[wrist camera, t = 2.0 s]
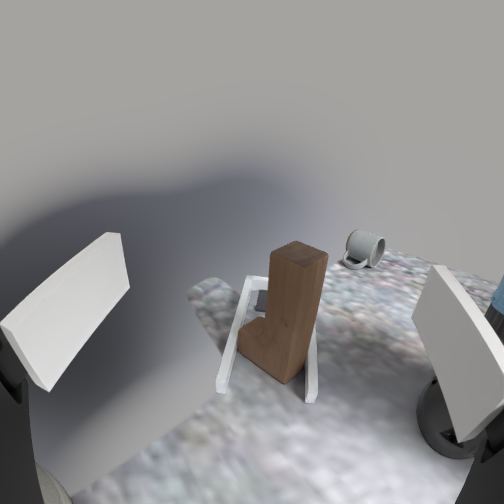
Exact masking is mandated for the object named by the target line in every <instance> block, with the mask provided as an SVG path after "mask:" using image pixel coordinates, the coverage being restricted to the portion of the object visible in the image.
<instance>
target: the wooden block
mask: <svg viewBox="0 0 504 504" xmlns="http://www.w3.org/2000/svg"><path fill="white" fill-rule="evenodd" d="M327 261H328V254H327V253H326V252H323V251H321V250H318V249H316V248H314V247H311V246H309V245H306V244H303V243H301V242H299V241H293V242H291V243H289V244H287V245H285V246H283V247H281V248H278V249H276V250H274V251H272V252H271V254H270V265H269V278H268V290H267V302H266V314H265V318H263V317H258V318H256V319H254V320H253V321H251V322H250V323H248V324H246V325H245V326H243V327H242V328H240V329H239V330H238V351H239V352H240V353H242V354H243V355H244V356H245V357H247V358H248V359H249V360H251V361H252V362H253V363H255V364H256V365H258V366H259V367H260V368H262V369H263V370H264V371H266V372H267V373H269V374H270V375H271V376H273V377H274V378H276V379H277V380H278V381H280V382H281V383H283V384H286V383H287V382H288V381H289V380H290V379H291V378H293V377H294V376H295V375H296V374H297V373H298V372H299V371H300V370H301V369H302V368H303V367H304V365H305V361H306V357H307V353H308V349H309V345H310V341H311V337H312V333H313V329H314V324H315V320H316V315H317V311H318V306H319V302H320V297H321V292H322V287H323V282H324V277H325V272H326V267H327Z"/></svg>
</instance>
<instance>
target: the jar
mask: <svg viewBox="0 0 504 504" xmlns="http://www.w3.org/2000/svg"><path fill="white" fill-rule="evenodd" d="M35 465H36V470H37V475H38V480H39V484H40V488H41V492H42V496H43V500H44V503H45V504H72V501H71V499H70V497H69V496H68V494H67V492H66V491H65V489H64V488H63V487H62V485H61V484H60V483H59V482H58V481H57V480H56V479H55V478H54V477H53V475H52V474H50V473H49V472H48V471H47V470H46V469H44V468H43V467H42V466H40V465H39V464H37V463H36V462H35Z"/></svg>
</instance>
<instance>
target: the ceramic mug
mask: <svg viewBox="0 0 504 504" xmlns="http://www.w3.org/2000/svg"><path fill="white" fill-rule="evenodd" d="M385 246H386V241H385V238H384V237H381V236H379V235H375V234H372V233H369V232H366V231H363V230H355V231H353V232H352V233H351V234H350V236H349V237H348V240H347V243H346V252H345V254H344V256H343V261H344V264H345V266H346V267H348V268H350V269H353V270H357V269H361V268H363V267H364V266H365V265H367V266H369V267H371V268H374V267H376V266H377V265H378V264H379V262H380V261H381V259H382V257H383V254H384V251H385ZM348 255H349V256H350V257H352V258H354V259H356V260H358V261H360V262H361V263H359V264H349V263H348V262H347V261H346V258H347V256H348Z"/></svg>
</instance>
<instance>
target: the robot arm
mask: <svg viewBox="0 0 504 504" xmlns="http://www.w3.org/2000/svg"><path fill="white" fill-rule="evenodd" d="M129 288H130V286H129V281H128V276H127V271H126V266H125V260H124V255H123V249H122V243H121V237H120V233H109V232H106V233H105V234H103V235H102V236H101V237H99V238H98V239H97V240H95V241H94V242H93V243H91V244H90V245H89V246H88V247H86V248H85V249H83V250H82V251H81V252H80V253H78V254H77V255H76V256H75V257H73V258H72V259H71V260H69V261H68V262H67V263H66V264H64V265H63V266H62V267H61V268H60V269H58V270H57V271H56V272H55V273H54V274H52V275H51V276H50V277H49V278H48V279H46V280H45V281H44V282H43V283H42V284H41V285H39V286H38V287H37V288H36V289H34V290H33V291H32V292H31V293H30V294H29V295H28V296H27V297H26V298H24V299H23V300H22V302H20V304H18V305H17V306H16V307H15V308H14V309H13V310H12V311H11V312H10V313H9V314H8V315H7V316H6V317H5V318H4V319H3V320H2V321H1V322H0V504H45V503H44V500H43V496H42V492H41V488H40V484H39V480H38V475H37V470H36V465H35V460H34V454H33V447H32V439H31V431H30V419H29V402H28V383H27V380H26V379H25V376H26V375H27V374H29V375H30V377H31V378H32V379H33V381H34V382H35V384H36V385H38V386H40V387H41V388H43V389H45V390H46V391H48V392H50V391H51V389H52V388H53V386H54V384H55V383H56V382H57V381H58V379H59V377H60V376H61V375H62V373H63V372H64V370H65V369H66V368H67V366H68V365H69V363H70V362H71V361H72V360H73V358H74V357H75V356H76V354H77V353H78V352H79V350H80V349H81V348H82V346H83V345H84V344H85V342H86V341H87V340H88V338H89V337H90V336H91V335H92V333H93V332H94V331H95V329H96V328H97V327H98V326H99V324H100V323H101V322H102V321H103V319H104V318H105V317H106V316H107V314H108V313H109V312H110V311H111V309H112V308H113V307H114V306H115V305H116V303H117V302H118V301H119V300H120V299H121V297H122V296H123V295H124V294H125V293H126V291H127V290H128V289H129ZM411 318H412V320H413V322H414V324H415V326H416V329H417V331H418V333H419V335H420V337H421V340H422V342H423V344H424V347H425V349H426V351H427V354H428V356H429V359H430V361H431V364H432V366H433V369H434V371H435V374H436V376H435V377H434V378H433V379H432V380H431V381H430V382H429V384H428V385H427V386H426V388H425V389H424V391H423V392H422V394H421V396H420V398H419V402H418V407H417V417H418V423H419V427H420V429H421V432H422V434H423V436H424V437H425V439H426V441H427V442H428V443H429V444H430V445H431V447H432V448H434V449H435V450H436V451H437V452H439V453H440V454H442V455H444V456H446V457H449V458H453V459H466V458H470V457H473V456H475V459H474V462H473V464H472V467H471V469H470V472H469V474H468V476H467V479H466V481H465V483H464V485H463V488H462V490H461V492H460V494H459V496H458V498H457V500H456V502H455V504H504V275H503V278H502V280H501V282H500V284H499V286H498V288H497V289H496V290H495V292H494V293H493V295H492V298H491V304H490V306H489V308H488V310H487V312H486V314H485V315H483V314H482V312H481V311H480V310H479V308H478V307H477V305H476V304H475V303H474V301H473V300H472V299H471V297H470V296H469V295H468V293H467V292H466V291H465V290H464V288H463V287H462V286H461V284H460V283H459V282H458V281H457V279H456V278H455V277H454V276H453V275H452V273H451V272H450V271H449V270H448V268H447V267H446V266H441V265H431V268H430V271H429V274H428V277H427V280H426V282H425V285H424V288H423V290H422V293H421V295H420V298H419V300H418V303H417V305H416V308H415V310H414V312H413V315H412V317H411Z"/></svg>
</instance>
